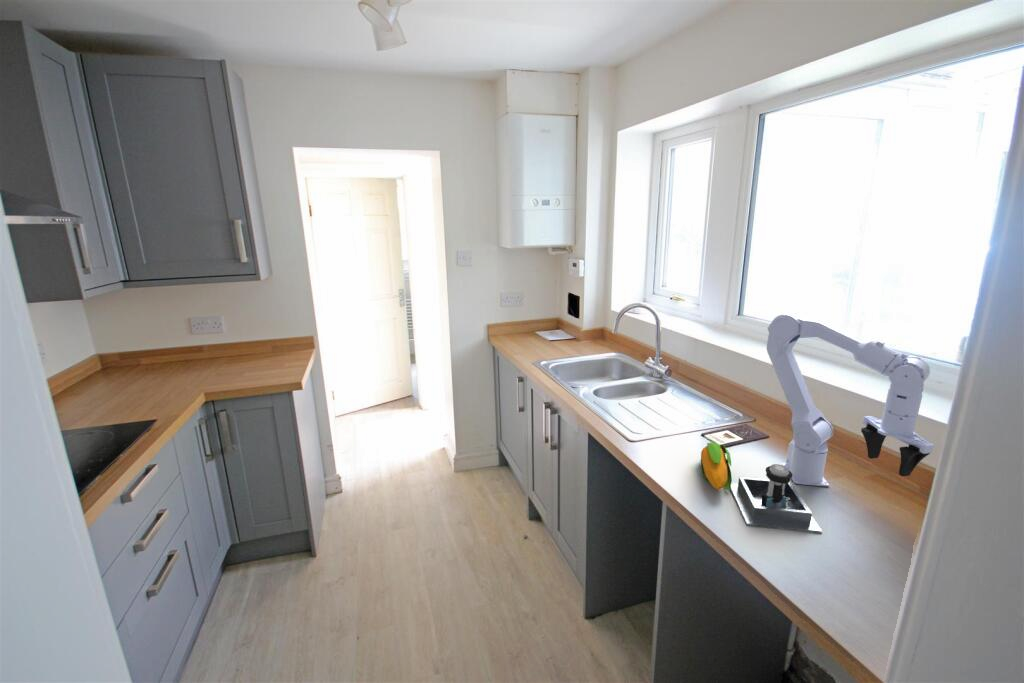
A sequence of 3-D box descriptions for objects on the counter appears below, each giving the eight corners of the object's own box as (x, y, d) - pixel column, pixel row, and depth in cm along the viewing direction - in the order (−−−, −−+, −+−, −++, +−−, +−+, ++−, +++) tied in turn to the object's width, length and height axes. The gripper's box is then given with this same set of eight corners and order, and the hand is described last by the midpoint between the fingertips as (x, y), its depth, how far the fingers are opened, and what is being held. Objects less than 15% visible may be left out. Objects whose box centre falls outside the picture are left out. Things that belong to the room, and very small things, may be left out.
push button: (780, 497, 110) (786, 460, 107) (797, 510, 105) (804, 472, 102) (755, 500, 109) (761, 463, 106) (771, 514, 104) (777, 475, 101)
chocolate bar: (769, 436, 140) (723, 446, 134) (769, 438, 140) (722, 449, 134) (746, 423, 148) (701, 433, 142) (745, 426, 148) (701, 436, 143)
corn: (728, 436, 125) (738, 474, 107) (727, 461, 127) (737, 502, 109) (699, 434, 128) (704, 471, 110) (699, 458, 130) (704, 499, 112)
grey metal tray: (728, 484, 116) (730, 472, 115) (792, 490, 113) (794, 477, 113) (746, 525, 101) (748, 511, 100) (821, 533, 98) (824, 519, 97)
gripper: (856, 400, 107) (845, 452, 111) (918, 427, 93) (904, 485, 97) (882, 398, 108) (871, 449, 112) (947, 424, 94) (932, 482, 98)
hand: (888, 466), depth 104 cm, fingers open, 7 cm apart
